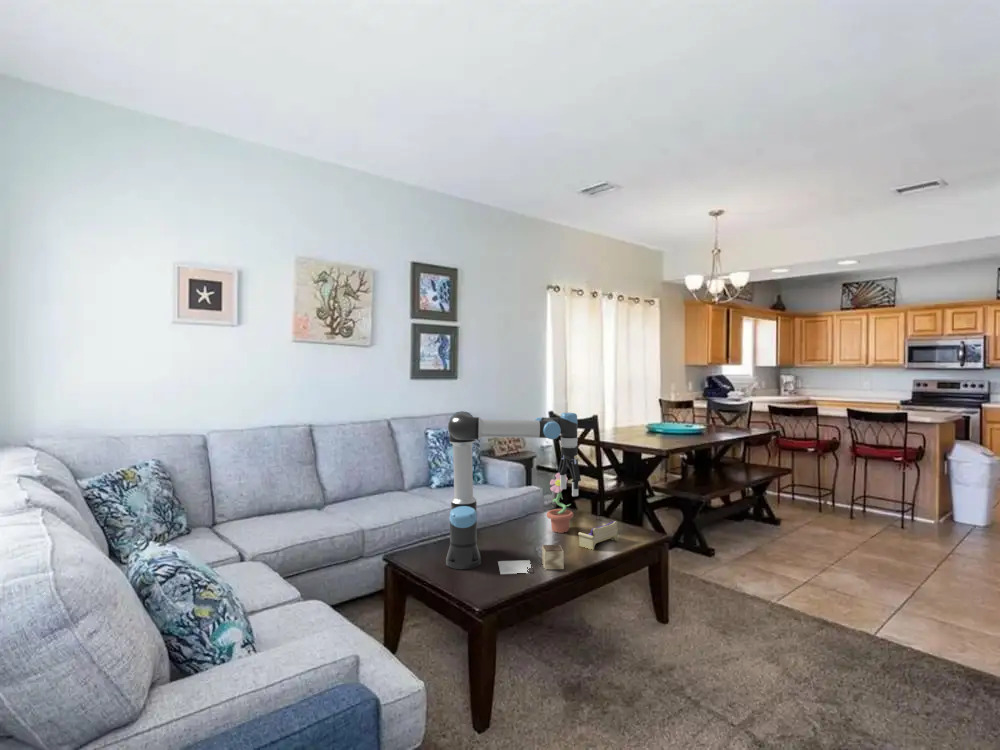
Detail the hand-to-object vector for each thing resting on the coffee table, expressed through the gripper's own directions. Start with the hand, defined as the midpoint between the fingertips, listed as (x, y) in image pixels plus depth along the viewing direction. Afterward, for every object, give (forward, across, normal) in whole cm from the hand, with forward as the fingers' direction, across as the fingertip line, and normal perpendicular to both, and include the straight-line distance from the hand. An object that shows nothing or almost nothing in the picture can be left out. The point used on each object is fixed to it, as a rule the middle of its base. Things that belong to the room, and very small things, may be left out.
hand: (569, 492), depth 258 cm
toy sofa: (+28, +5, -18) cm, 33 cm away
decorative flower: (+27, +29, -7) cm, 41 cm away
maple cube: (+27, -16, +14) cm, 35 cm away
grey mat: (+27, -12, +30) cm, 42 cm away
